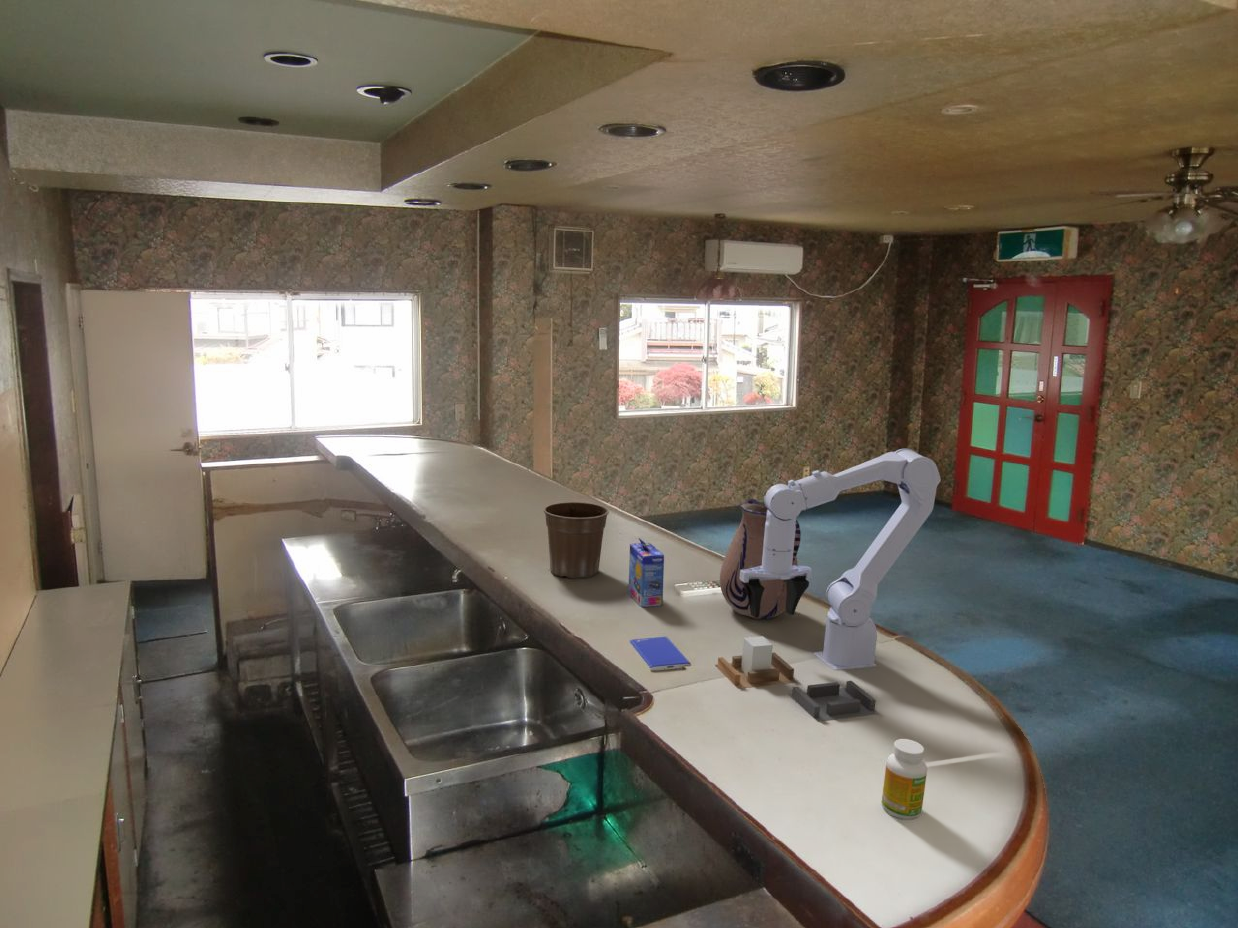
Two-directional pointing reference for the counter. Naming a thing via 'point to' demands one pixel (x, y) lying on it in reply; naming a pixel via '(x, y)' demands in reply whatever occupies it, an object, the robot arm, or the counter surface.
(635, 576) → the ink cartridge box
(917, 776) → the supplement bottle
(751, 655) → the plug block
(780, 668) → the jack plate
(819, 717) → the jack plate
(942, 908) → the counter surface
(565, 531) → the plant pot
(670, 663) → the hard drive
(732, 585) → the ceramic pitcher
